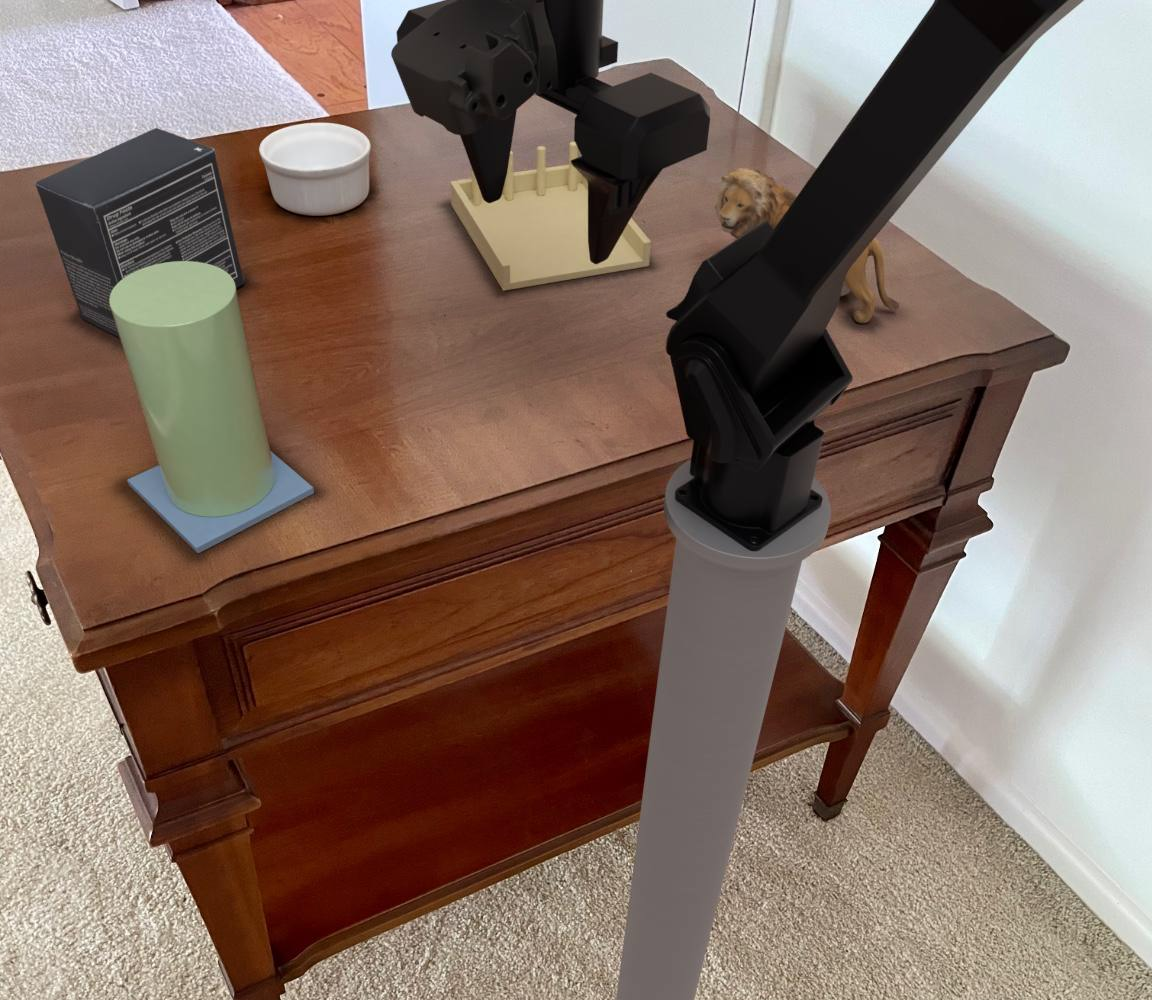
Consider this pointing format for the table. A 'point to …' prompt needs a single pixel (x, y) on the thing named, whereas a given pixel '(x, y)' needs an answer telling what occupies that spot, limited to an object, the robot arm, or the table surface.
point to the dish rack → (541, 226)
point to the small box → (137, 216)
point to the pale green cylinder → (195, 385)
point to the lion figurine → (761, 199)
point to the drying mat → (217, 529)
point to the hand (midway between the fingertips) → (543, 229)
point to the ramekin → (317, 167)
